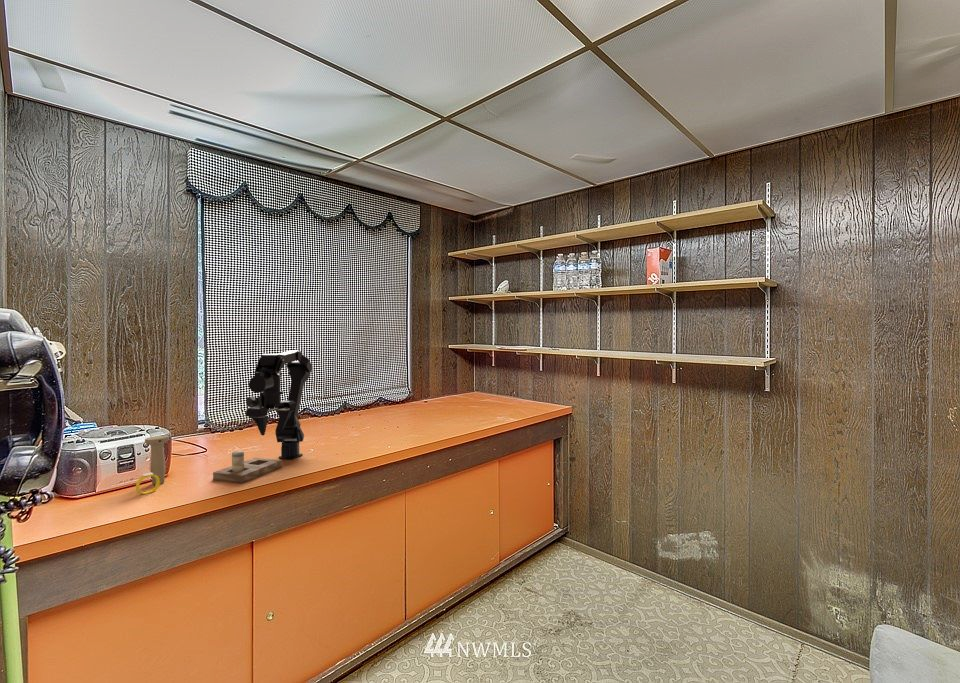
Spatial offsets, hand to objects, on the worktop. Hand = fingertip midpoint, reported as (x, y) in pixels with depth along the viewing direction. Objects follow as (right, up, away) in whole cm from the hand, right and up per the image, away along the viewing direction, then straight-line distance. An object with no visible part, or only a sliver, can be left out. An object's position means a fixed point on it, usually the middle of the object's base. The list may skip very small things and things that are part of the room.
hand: (272, 432), depth 163 cm
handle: (-30, -14, -15) cm, 36 cm away
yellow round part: (-27, -14, -24) cm, 39 cm away
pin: (-7, -13, -9) cm, 17 cm away
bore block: (-6, -13, -5) cm, 15 cm away
